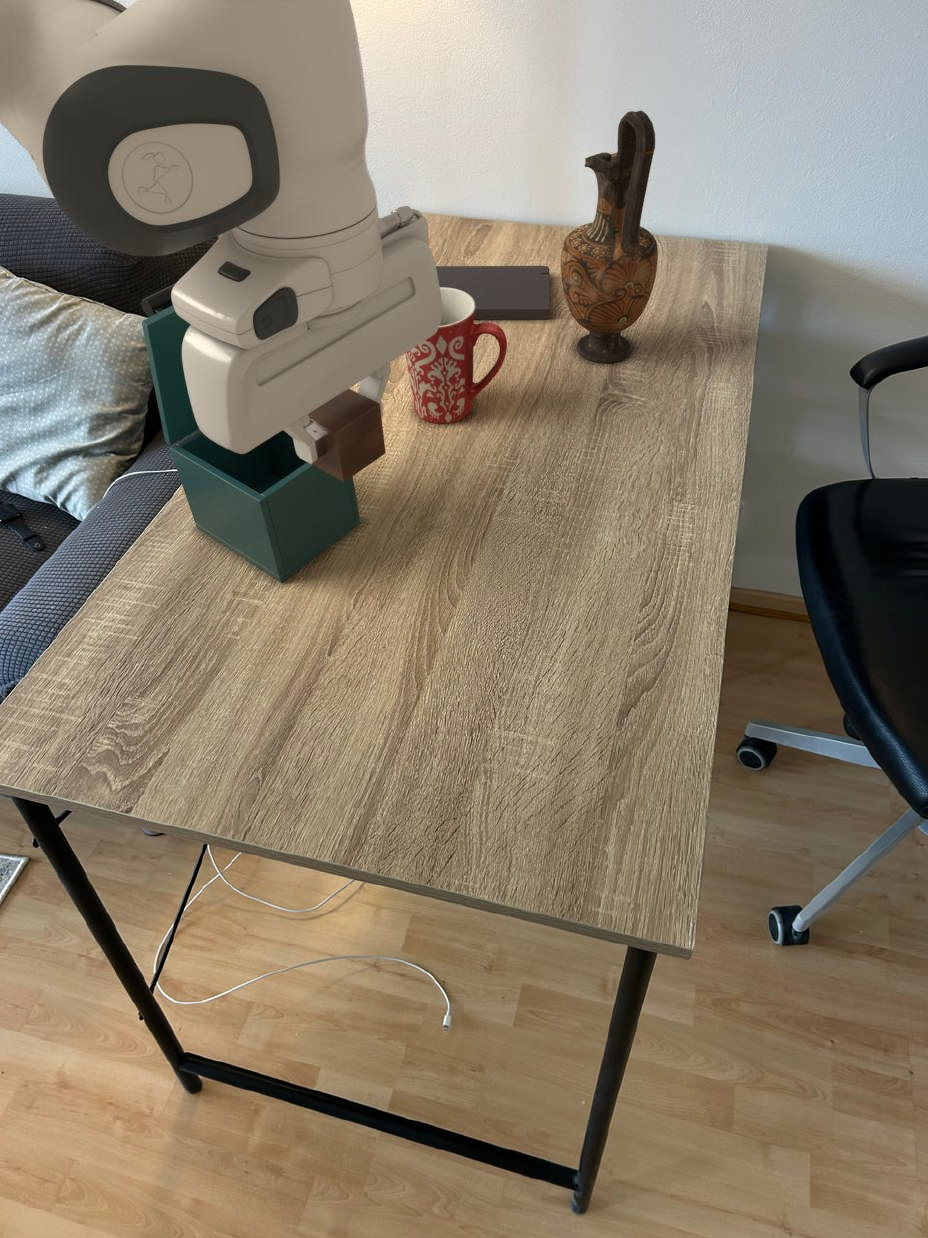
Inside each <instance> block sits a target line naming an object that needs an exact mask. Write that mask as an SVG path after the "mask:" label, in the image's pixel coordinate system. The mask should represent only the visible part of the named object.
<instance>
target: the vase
mask: <svg viewBox="0 0 928 1238" xmlns="http://www.w3.org/2000/svg"><path fill="white" fill-rule="evenodd" d="M655 150H656V132H655V127H654V124H653V122H652V119H651V118H650V117H649V115H648V114H647V113H646V112H645V111H643V110H642V109H641V110H637V111H633V110H631V111H627V112H626V113H625V114H624V116H622V117H621V118H620V121H619V123H618V128H617V150H616V151H617V152H614V153H610V152H600V153H597V154H593V155H590V156H587V157H585V158H584V162H585V163H584V168H589V169H591V170H592V171H593V173H594V174H595V178H596V183H597V201H596V209H595V215H594V219H593V221H591V222H588V223H584V224H583V225H580V226H578V227H577V228H574V229H573V230H572V231H570V232H569V233H568V234H567V235H566V237H565V238H564V240H563V243H562V246H561V247H562V248H561V254H560V275H561V283H562V290H563V294H564V297H565V301H566V305H567V307H568V310H569V312H570V314H571V316H572V318H573V320H575V322H576V323H577V324H578V325H579V326H581V328H584V329H585V330H586V331H588V332H589V333H587V334H585V335H584V336H582V337H581V338H580V339H579V340H578V342H577V344H576V352H577V353H578V354H579V355H580V356H581V357H582V358H583V359H585V360H587V361H591V362H595V363H601V364H611V363H616V362H620V361H621V360H622V361H623V360H625V358H627V357H628V356H629V355H630V353H631V350H632V347H631V344H630V342H629V340H628V339H627V338H625V337H624V336H622V331H625V330H626V329H629V328H630V327H631V326H632V325H633V324H635V323H636V322H637V321H638V320H639V318H640V317H641V316H642V314H643V313H644V311H645V309H646V308H647V305H648V303H649V300H650V298H651V295H652V292H653V290H654V286H655V282H656V278H657V271H658V263H659V261H658V260H659V248H658V243H657V240H656V238H655V236H654V235H653V234H652V232H650V231H649V230H648V229H647V228H645V227H643V226H641V222H642V221H641V220H642V215H643V209H644V203H645V199H646V193H647V189H648V183H649V177H650V172H651V169H652V163H653V159H654V154H655Z"/></svg>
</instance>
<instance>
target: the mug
mask: <svg viewBox="0 0 928 1238" xmlns="http://www.w3.org/2000/svg"><path fill="white" fill-rule="evenodd" d="M440 293H441V301H442V311H443V315H442V319H441V322H440V325H439V328H438V330H437V332H436V333H435V334H434V335H433V336H431V337H430V338H428V339H427V340H425V341H423V342H422V343H420V344H419V345H417V346H415V347H414V348H412V349H411V350H409V351H407V352H406V353H404V354H405V359H406V365H407V373H408V378H409V384H410V390H411V397H412V403H413V409H414V413H416V415H417V416H418V417H419V418H420V419H422V420H423V421H425V422H429V423H433V424H449V423H454V422H457V421H460V420H462V419H464V418H465V417H467V416H468V415H469V414H470V413H471V411H472V410H473V405H474V398H475V397H477V396H478V395H479V394H480V393H481V392H482V391H483V390H485V388H486V387H487V386H488V385H489V384H490V383H491V381H492V380H493V379H494V378H495V377H496V375H497V374H498V373H499V372H500V370H501V368H502V366H503V364H504V362H505V359H506V355H507V348H508V341H507V340H508V339H507V336H506V333H505V331H504V330H503V328H502V327H501V326H500V325H498V324H495V322H488V321H486V322H485V321H484V322H481V323H474V322H475V319H474V312H475V308H476V304H475V301H474V299H473V298H472V297H471V296H470V295H469V294H467V293H466V292H464V291H461V290H458V289H454V288H446V287H440ZM482 335H490V336H492V337H494V338H495V340H496V341H497V343H498V346H499V352H498V356H497V359H496V361H495V363H494V364H493V366H492V367H491V369H490V370H489V371H488V372H487V374H485V376H483V378H482V379H480V380H479V381H478V382H475V381H474V347H475V346H476V345H477V342H478V339H479V337H481V336H482Z"/></svg>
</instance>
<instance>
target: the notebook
mask: <svg viewBox="0 0 928 1238" xmlns="http://www.w3.org/2000/svg"><path fill="white" fill-rule="evenodd" d="M436 270H437V275H438V281H439V286H440V287H446V288H454V289H458V290H461V291H464V292H466V293H467V294H469V295H470V296H471V297H472V298H473V299H474V301H475V304H476V308H475V312H474V320H550V278H551V277H550V267H549V266H547V265H436Z"/></svg>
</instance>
